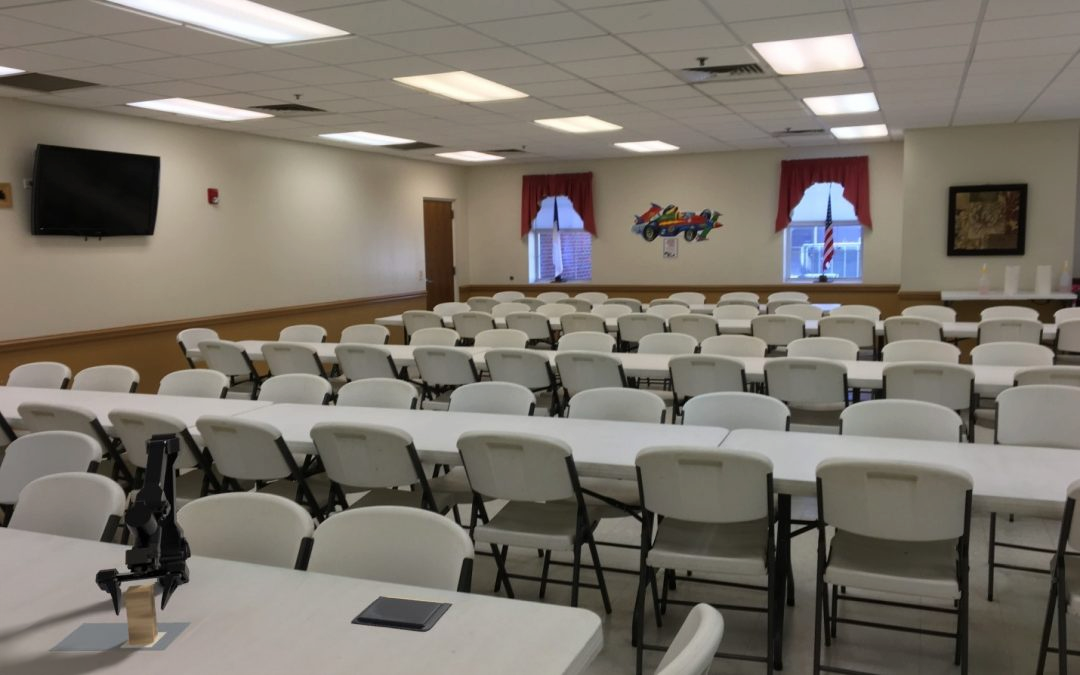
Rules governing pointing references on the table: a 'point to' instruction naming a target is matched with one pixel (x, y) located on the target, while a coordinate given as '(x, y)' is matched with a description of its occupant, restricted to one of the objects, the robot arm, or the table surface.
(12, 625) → the table surface
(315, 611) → the table surface
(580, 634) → the table surface
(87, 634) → the rubber mat
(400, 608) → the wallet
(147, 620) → the wooden block
